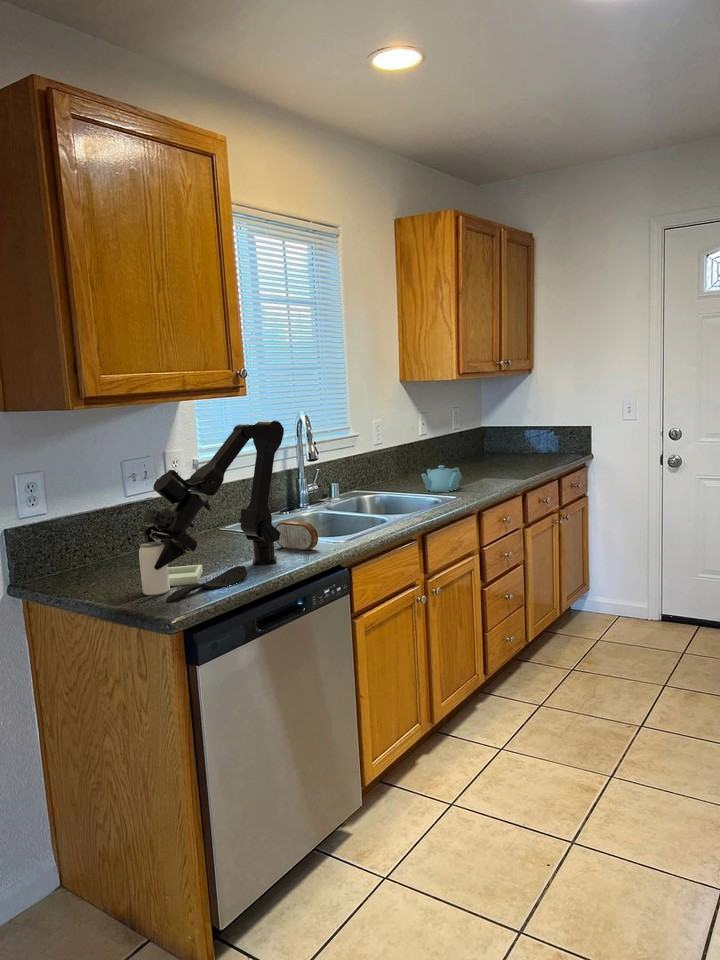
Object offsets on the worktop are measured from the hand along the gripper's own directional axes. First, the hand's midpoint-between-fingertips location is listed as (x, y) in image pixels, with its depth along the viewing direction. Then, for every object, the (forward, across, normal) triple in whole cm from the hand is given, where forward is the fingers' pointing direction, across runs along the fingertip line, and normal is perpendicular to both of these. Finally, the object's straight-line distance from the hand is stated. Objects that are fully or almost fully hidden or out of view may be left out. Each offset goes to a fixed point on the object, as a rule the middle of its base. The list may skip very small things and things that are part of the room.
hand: (148, 567), depth 180 cm
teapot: (-105, -32, +115) cm, 159 cm away
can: (+4, 0, +6) cm, 7 cm away
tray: (-3, -6, +12) cm, 14 cm away
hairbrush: (-2, +9, +12) cm, 15 cm away
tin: (-31, -4, +41) cm, 51 cm away
